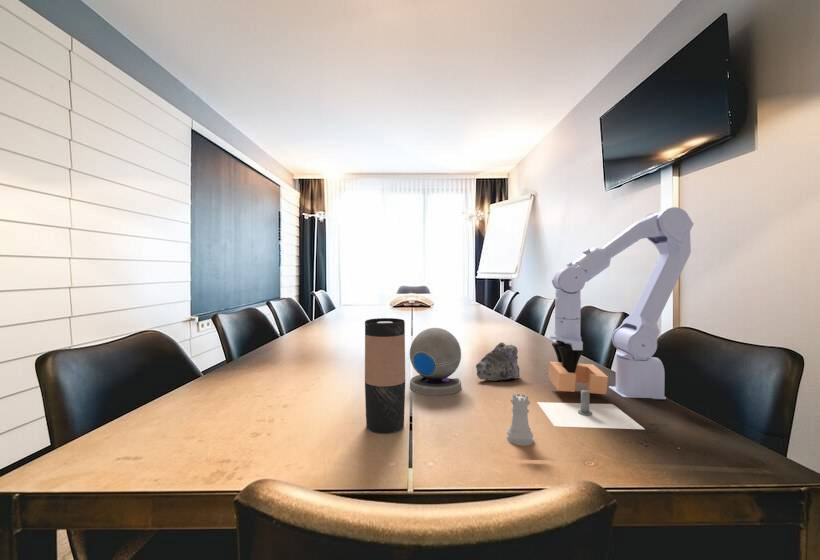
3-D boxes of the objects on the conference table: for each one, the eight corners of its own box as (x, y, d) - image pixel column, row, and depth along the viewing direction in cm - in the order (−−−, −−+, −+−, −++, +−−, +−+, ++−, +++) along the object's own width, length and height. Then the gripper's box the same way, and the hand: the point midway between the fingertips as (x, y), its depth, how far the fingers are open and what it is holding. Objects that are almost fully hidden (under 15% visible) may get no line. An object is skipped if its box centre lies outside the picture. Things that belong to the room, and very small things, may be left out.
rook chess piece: (535, 449, 62) (535, 401, 61) (507, 447, 63) (507, 399, 62) (532, 437, 66) (532, 392, 66) (505, 435, 67) (506, 391, 67)
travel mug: (410, 420, 74) (410, 318, 73) (396, 437, 66) (396, 324, 66) (375, 416, 76) (374, 317, 76) (357, 431, 69) (357, 322, 68)
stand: (612, 406, 81) (612, 383, 81) (645, 431, 68) (645, 404, 68) (536, 404, 83) (537, 381, 82) (554, 429, 70) (554, 402, 70)
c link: (606, 394, 84) (608, 376, 83) (558, 390, 85) (559, 373, 84) (591, 380, 92) (593, 364, 92) (547, 377, 93) (549, 361, 92)
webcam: (469, 384, 97) (469, 326, 97) (446, 398, 87) (446, 333, 86) (425, 377, 104) (425, 323, 104) (399, 389, 93) (399, 329, 93)
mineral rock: (477, 385, 97) (477, 346, 97) (470, 373, 108) (470, 339, 108) (527, 385, 97) (527, 346, 97) (515, 373, 108) (515, 338, 108)
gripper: (542, 314, 98) (542, 366, 99) (559, 321, 84) (559, 382, 84) (570, 314, 98) (569, 366, 98) (592, 322, 83) (592, 383, 84)
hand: (567, 374), depth 91 cm, fingers closed on c link, 2 cm apart
